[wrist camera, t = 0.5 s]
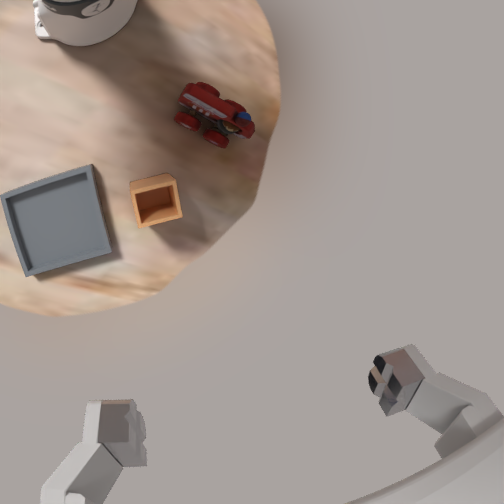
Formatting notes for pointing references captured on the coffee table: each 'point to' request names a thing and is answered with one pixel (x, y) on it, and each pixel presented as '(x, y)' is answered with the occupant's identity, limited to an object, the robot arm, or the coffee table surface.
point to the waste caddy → (155, 200)
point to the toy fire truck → (214, 114)
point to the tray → (57, 221)
